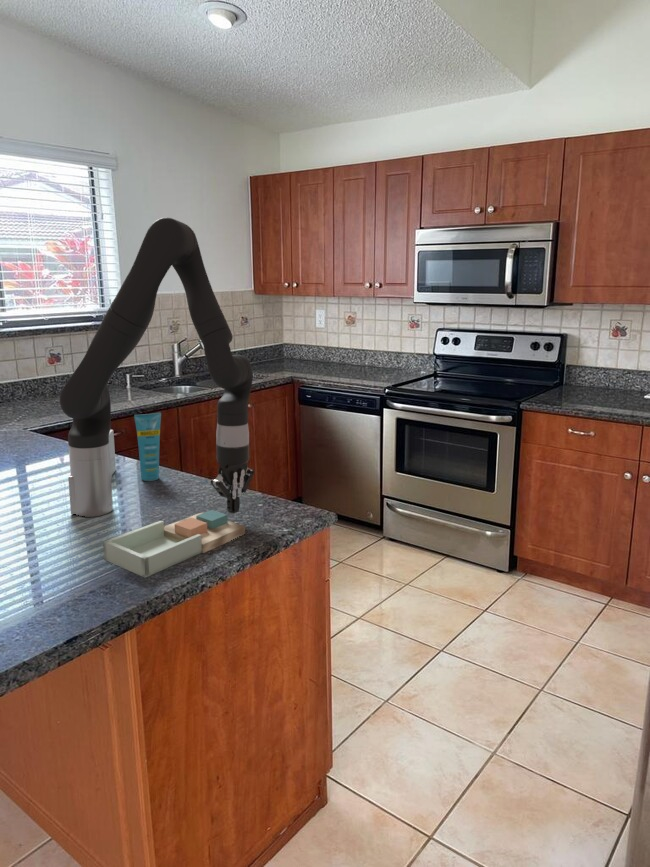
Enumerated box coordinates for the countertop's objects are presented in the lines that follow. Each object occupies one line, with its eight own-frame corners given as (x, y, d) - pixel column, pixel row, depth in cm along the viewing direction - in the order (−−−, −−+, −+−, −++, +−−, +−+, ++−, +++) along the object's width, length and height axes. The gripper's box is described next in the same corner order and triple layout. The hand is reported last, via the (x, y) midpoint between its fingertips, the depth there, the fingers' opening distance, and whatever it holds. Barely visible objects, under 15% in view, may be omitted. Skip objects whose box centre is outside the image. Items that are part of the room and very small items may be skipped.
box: (145, 577, 125) (144, 558, 124) (104, 559, 133) (103, 541, 132) (201, 552, 137) (201, 535, 136) (161, 537, 145) (160, 520, 144)
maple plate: (203, 553, 137) (203, 544, 136) (159, 536, 145) (159, 528, 144) (245, 534, 147) (245, 526, 147) (202, 519, 155) (202, 512, 155)
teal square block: (211, 529, 145) (211, 521, 144) (196, 524, 147) (196, 515, 147) (227, 522, 148) (227, 514, 148) (212, 517, 151) (212, 509, 151)
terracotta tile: (190, 538, 139) (190, 529, 139) (174, 532, 142) (174, 524, 142) (207, 531, 143) (207, 522, 143) (191, 525, 146) (191, 517, 146)
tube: (140, 483, 181) (137, 416, 176) (134, 478, 184) (131, 413, 180) (165, 479, 185) (163, 413, 180) (160, 474, 188) (157, 410, 184)
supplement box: (91, 470, 191) (88, 429, 188) (116, 470, 192) (114, 429, 188) (84, 478, 184) (81, 435, 181) (110, 478, 184) (108, 435, 181)
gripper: (224, 450, 142) (225, 524, 146) (263, 439, 152) (263, 508, 157) (200, 444, 146) (202, 516, 150) (240, 434, 157) (240, 501, 161)
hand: (233, 511), depth 153 cm, fingers closed
